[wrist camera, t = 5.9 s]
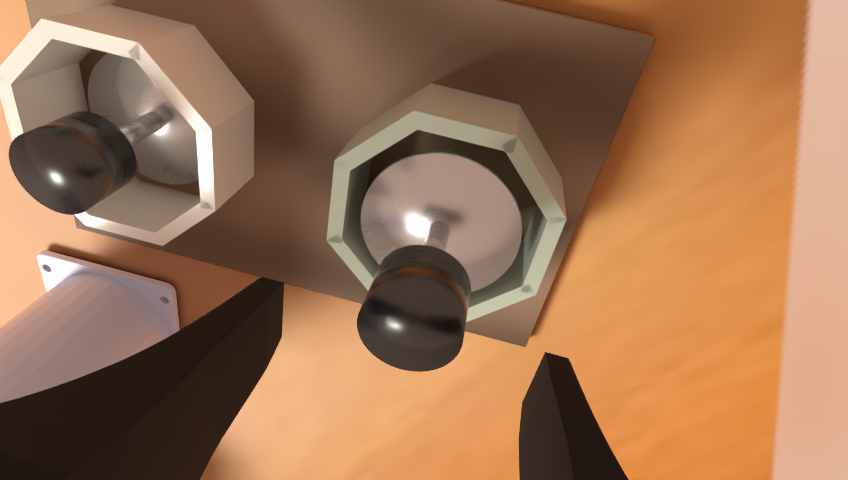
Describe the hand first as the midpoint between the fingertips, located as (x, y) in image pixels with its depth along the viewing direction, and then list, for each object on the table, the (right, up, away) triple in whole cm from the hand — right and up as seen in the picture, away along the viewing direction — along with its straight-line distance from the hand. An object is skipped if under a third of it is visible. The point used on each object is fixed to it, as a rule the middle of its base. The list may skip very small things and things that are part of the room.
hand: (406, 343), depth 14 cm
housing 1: (-11, +8, +9) cm, 16 cm away
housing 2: (+2, +5, +8) cm, 10 cm away
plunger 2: (+1, +3, +5) cm, 6 cm away
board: (-5, +7, +9) cm, 12 cm away
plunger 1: (-11, +8, +8) cm, 16 cm away
